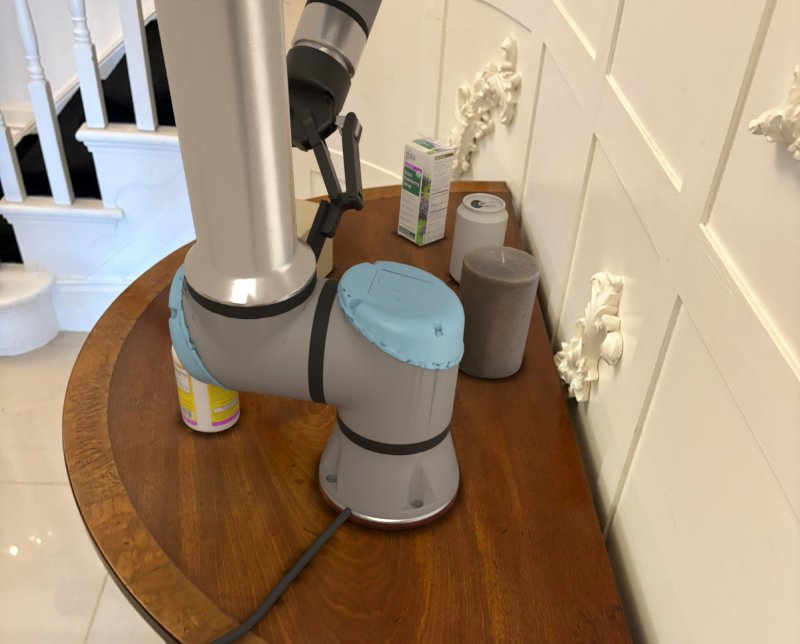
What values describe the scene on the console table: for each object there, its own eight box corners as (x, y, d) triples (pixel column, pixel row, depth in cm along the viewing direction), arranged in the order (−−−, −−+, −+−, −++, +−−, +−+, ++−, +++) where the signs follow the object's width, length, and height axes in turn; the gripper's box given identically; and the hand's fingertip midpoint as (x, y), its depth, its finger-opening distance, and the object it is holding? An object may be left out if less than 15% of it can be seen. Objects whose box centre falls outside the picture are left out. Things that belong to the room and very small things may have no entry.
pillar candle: (460, 381, 101) (476, 272, 91) (442, 340, 108) (455, 234, 97) (531, 377, 103) (556, 270, 92) (509, 337, 110) (529, 233, 99)
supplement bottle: (246, 404, 94) (238, 307, 85) (232, 438, 90) (222, 339, 81) (191, 397, 94) (177, 300, 85) (174, 431, 90) (158, 331, 81)
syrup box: (396, 234, 130) (402, 141, 120) (421, 225, 133) (430, 134, 123) (419, 247, 127) (428, 153, 117) (445, 238, 131) (456, 146, 120)
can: (451, 264, 124) (460, 187, 116) (498, 270, 124) (511, 193, 115) (446, 286, 119) (456, 207, 110) (495, 293, 118) (509, 214, 110)
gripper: (431, 108, 87) (364, 288, 88) (240, 63, 94) (179, 232, 94) (415, 65, 80) (342, 262, 81) (210, 20, 86) (144, 203, 87)
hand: (254, 246), depth 88 cm, fingers open, 13 cm apart
